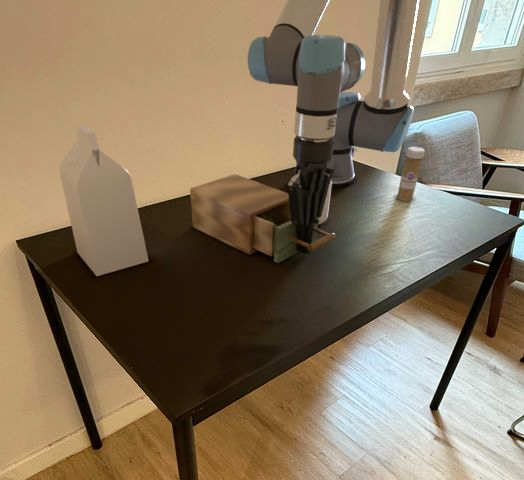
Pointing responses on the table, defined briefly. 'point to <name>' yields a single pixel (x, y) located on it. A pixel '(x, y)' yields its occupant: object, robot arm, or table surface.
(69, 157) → the milk
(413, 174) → the sprinkles bottle
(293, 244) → the drawer
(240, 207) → the cabinet
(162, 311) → the table surface
